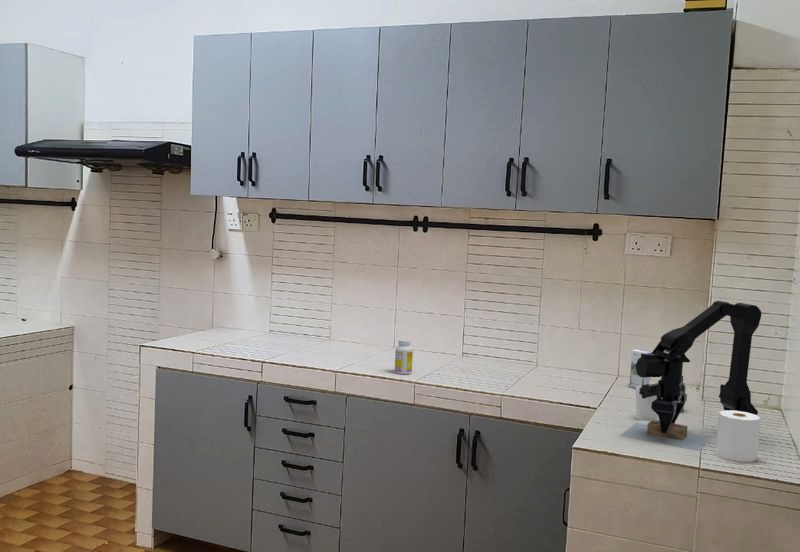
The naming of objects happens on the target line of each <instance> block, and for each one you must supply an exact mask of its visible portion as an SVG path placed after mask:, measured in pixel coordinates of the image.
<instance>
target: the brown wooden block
mask: <svg viewBox="0 0 800 552" xmlns="http://www.w3.org/2000/svg"><path fill="white" fill-rule="evenodd" d="M647 425H648V428H647V434H650V435H656V436H661V437H667V438H672V439H677V440H683V439H684V438H685V437H686V436H687V432H688V427H689V426H688V425H686V424H685V425H684V424H679V423H676V422H675V423H670V426H669V428H668V430H667V432H666V433H662V431H661V426H660V421H659V420H658V421H657V420H652V421H649V422H648V423H647Z"/></svg>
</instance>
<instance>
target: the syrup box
mask: <svg viewBox="0 0 800 552" xmlns="http://www.w3.org/2000/svg"><path fill="white" fill-rule="evenodd" d="M652 352H653V350H647V349H642V348H641V349H640V348H635V349H632V350H631V363H630V373H629V374H630V377H629V388H631V389H635V390H636V387H637V386H642V385H646V384H649V385H651V377H639V376H638V374H637V372H636V363H637V361H638V359H639V358H641V354H642V353H645V354H652Z"/></svg>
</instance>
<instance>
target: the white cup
mask: <svg viewBox="0 0 800 552" xmlns="http://www.w3.org/2000/svg"><path fill="white" fill-rule="evenodd" d="M641 387H642V386H637V387H636V389H635V418H636V419H637V420H638V421H647V422H648V421H649V422H651V421H652V420H657V421H659V416H658V415H657V414H656V413H655V412H654V411H653V409H651V405H652V402H653V401H654V400H656V399H657V398H656V397H657V395H656V396H652V397H647V398H645V399H642V396H641V394H639V392H640V389H639V388H641Z"/></svg>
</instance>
